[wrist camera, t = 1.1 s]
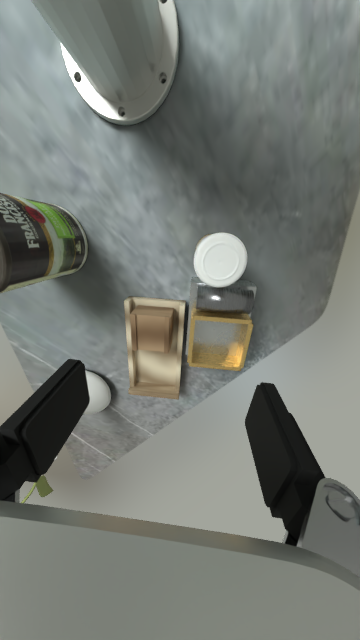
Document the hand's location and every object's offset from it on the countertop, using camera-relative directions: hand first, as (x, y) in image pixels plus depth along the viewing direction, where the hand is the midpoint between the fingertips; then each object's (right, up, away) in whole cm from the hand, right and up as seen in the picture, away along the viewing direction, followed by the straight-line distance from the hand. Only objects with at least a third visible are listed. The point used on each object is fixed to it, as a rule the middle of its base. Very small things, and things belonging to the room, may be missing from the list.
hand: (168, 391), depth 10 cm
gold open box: (+7, +5, +22) cm, 23 cm away
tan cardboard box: (-3, +3, +22) cm, 23 cm away
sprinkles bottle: (+5, +14, +18) cm, 24 cm away
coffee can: (-19, +16, +19) cm, 31 cm away
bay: (-4, -1, +25) cm, 25 cm away
